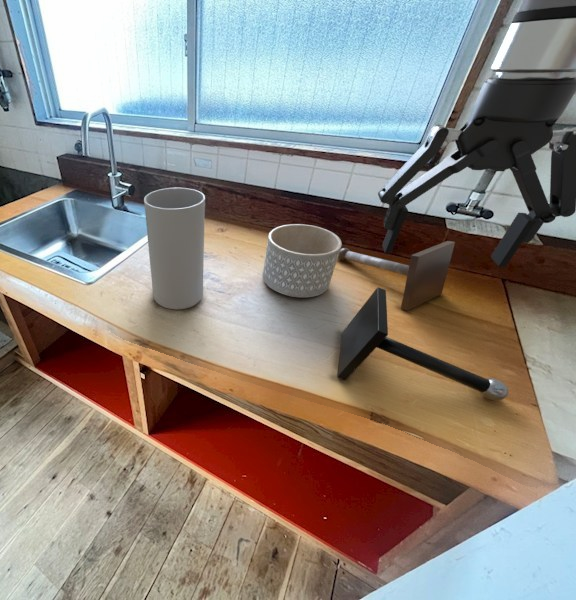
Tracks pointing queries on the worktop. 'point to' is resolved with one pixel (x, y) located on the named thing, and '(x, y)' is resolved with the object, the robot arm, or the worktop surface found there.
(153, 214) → the cylinder vase
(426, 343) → the worktop surface
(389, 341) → the black holder
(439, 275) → the paper towel stand
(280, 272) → the planter
